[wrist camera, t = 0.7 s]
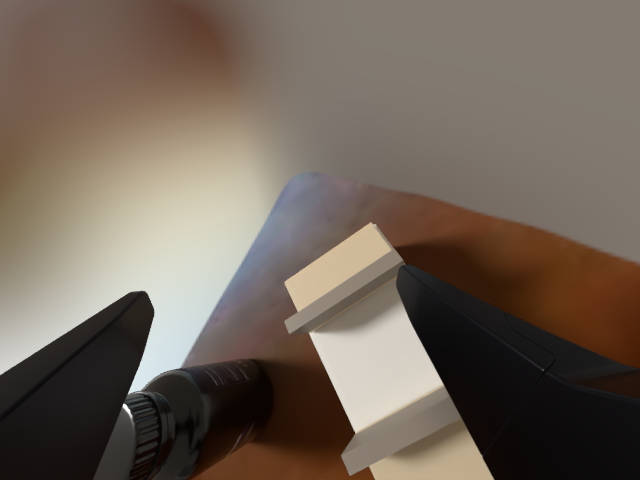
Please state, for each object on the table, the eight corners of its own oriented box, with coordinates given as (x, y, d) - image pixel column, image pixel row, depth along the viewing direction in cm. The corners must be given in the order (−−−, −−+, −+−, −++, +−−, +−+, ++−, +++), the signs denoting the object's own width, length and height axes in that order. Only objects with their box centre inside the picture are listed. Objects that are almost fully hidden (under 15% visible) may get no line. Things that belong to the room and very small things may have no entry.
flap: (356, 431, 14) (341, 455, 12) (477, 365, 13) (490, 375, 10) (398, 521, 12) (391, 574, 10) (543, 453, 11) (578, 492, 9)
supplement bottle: (265, 454, 22) (112, 574, 11) (208, 423, 24) (43, 496, 14) (283, 368, 23) (166, 402, 13) (228, 349, 26) (95, 364, 16)
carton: (510, 410, 17) (551, 450, 11) (405, 464, 18) (396, 523, 12) (388, 246, 23) (376, 222, 18) (316, 293, 24) (285, 284, 19)
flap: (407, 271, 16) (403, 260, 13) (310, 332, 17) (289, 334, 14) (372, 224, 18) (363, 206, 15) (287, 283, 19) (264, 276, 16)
